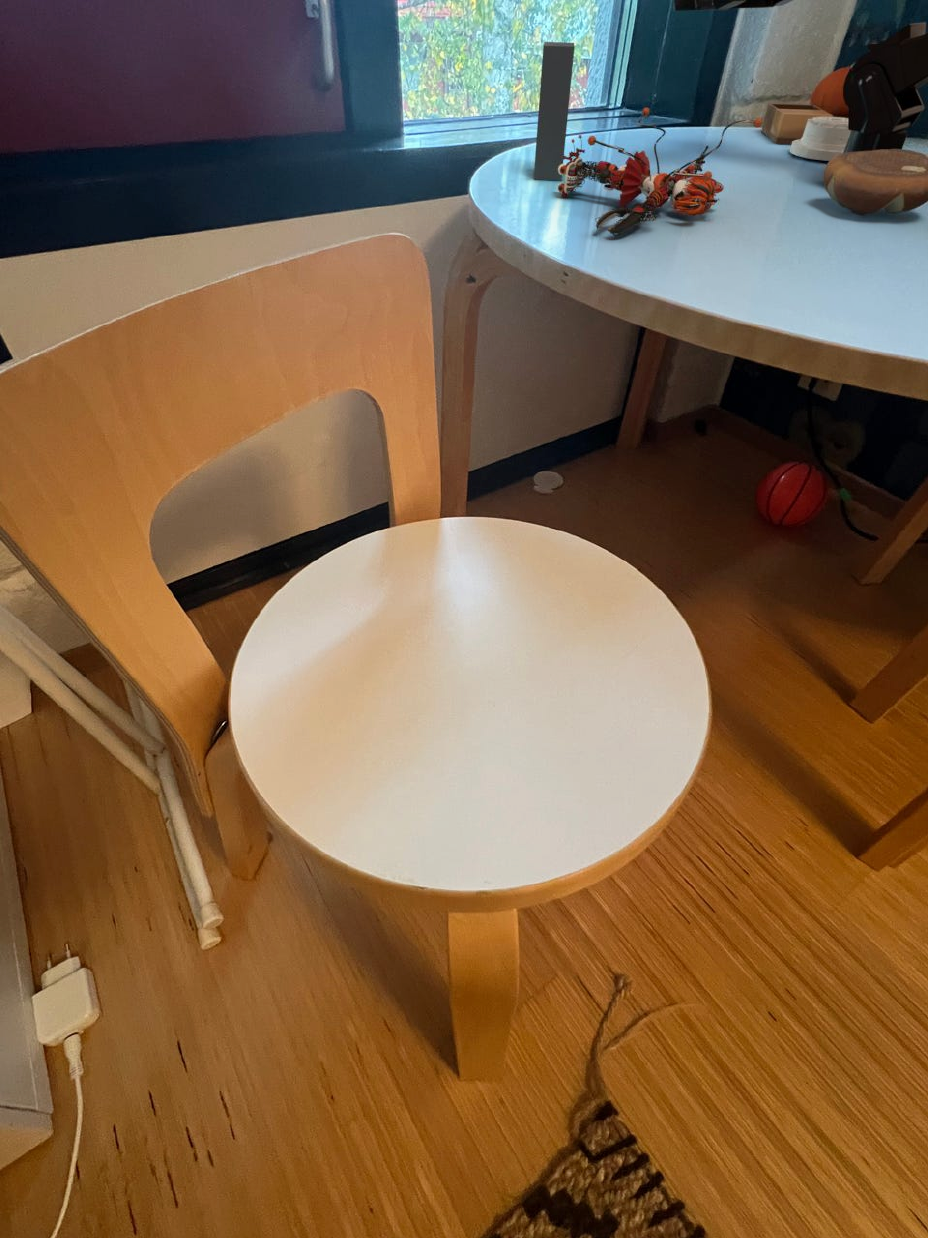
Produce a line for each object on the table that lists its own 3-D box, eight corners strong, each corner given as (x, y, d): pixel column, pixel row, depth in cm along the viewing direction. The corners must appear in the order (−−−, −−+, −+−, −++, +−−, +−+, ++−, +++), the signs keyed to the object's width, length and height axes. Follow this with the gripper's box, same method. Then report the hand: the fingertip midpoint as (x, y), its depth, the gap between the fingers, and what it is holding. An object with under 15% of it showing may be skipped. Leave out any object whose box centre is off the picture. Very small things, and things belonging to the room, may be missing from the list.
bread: (908, 141, 78) (889, 191, 82) (813, 151, 77) (799, 200, 81) (972, 170, 71) (949, 223, 75) (869, 181, 70) (850, 234, 74)
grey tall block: (561, 171, 90) (574, 42, 81) (561, 180, 86) (574, 46, 77) (534, 170, 90) (544, 41, 81) (533, 179, 87) (543, 45, 78)
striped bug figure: (496, 231, 74) (665, 281, 68) (501, 137, 68) (689, 182, 61) (599, 161, 88) (749, 197, 81) (612, 76, 81) (776, 108, 74)
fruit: (807, 117, 125) (823, 61, 120) (859, 122, 122) (878, 64, 117) (800, 124, 119) (817, 65, 114) (855, 129, 117) (875, 69, 111)
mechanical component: (822, 165, 95) (877, 161, 98) (834, 127, 92) (891, 123, 95) (774, 151, 102) (826, 148, 105) (784, 115, 99) (838, 112, 102)
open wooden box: (823, 145, 106) (833, 115, 103) (775, 143, 107) (784, 113, 104) (805, 133, 114) (814, 104, 111) (761, 131, 114) (768, 103, 111)
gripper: (851, -153, 78) (719, -75, 89) (781, -173, 68) (643, -82, 79) (853, -28, 83) (729, 31, 94) (789, -29, 73) (658, 37, 84)
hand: (692, 4), depth 88 cm, fingers open, 9 cm apart
